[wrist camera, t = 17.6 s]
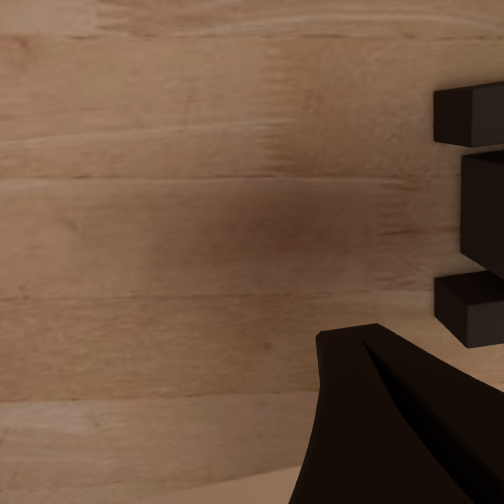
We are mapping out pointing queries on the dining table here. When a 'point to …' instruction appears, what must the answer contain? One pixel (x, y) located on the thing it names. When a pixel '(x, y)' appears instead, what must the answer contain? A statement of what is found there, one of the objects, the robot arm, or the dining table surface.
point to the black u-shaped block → (483, 283)
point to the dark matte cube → (483, 210)
